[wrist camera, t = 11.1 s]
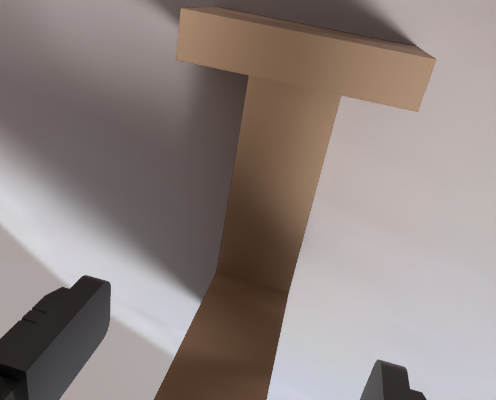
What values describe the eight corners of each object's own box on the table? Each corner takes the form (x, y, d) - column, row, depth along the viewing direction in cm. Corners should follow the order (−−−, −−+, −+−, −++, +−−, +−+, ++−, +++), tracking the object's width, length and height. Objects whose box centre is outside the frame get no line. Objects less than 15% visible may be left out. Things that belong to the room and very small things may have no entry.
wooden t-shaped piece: (417, 46, 12) (546, 133, 4) (319, 344, 17) (293, 637, 9) (215, 6, 13) (-4, 15, 5) (179, 304, 18) (44, 544, 10)
